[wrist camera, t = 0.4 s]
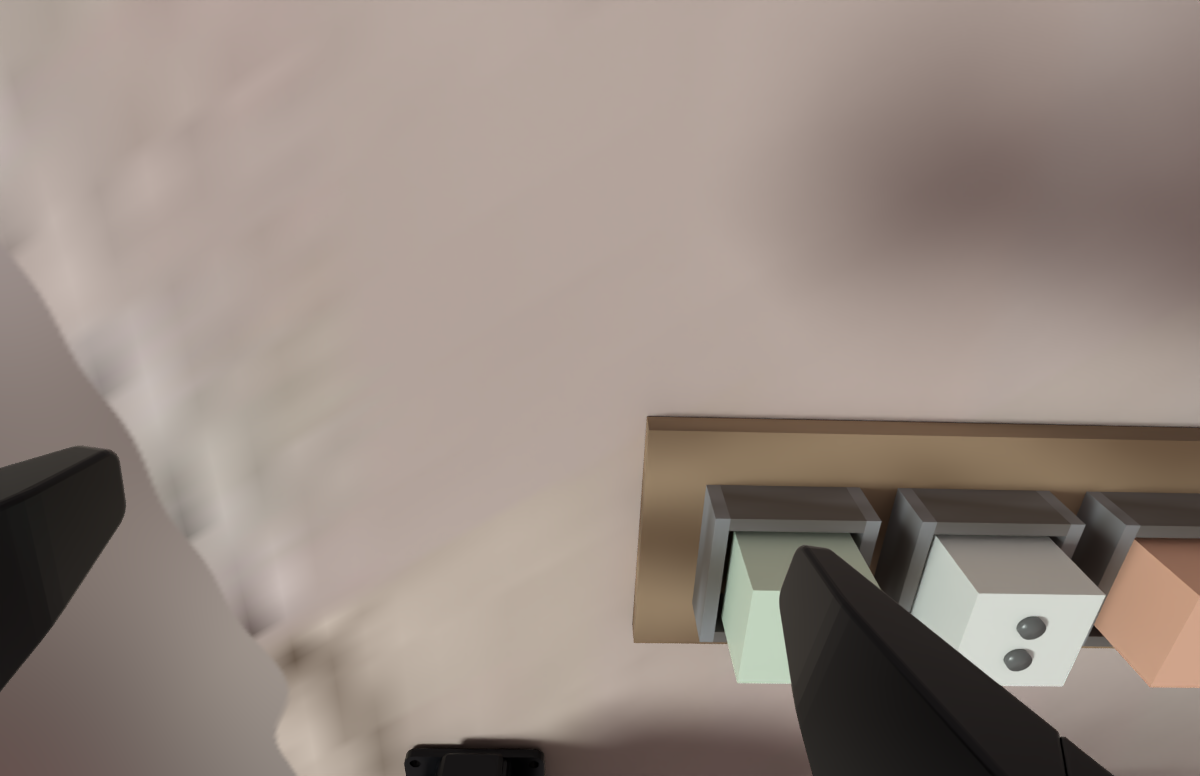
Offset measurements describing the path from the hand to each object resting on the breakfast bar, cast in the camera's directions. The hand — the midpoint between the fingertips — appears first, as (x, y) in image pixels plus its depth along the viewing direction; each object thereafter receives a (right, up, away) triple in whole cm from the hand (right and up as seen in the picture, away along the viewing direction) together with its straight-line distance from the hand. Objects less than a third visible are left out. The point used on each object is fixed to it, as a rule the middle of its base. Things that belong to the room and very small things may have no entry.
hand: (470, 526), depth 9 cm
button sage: (+8, -5, +15) cm, 18 cm away
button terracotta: (+22, -5, +15) cm, 28 cm away
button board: (+15, -4, +17) cm, 24 cm away
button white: (+15, -5, +15) cm, 22 cm away
